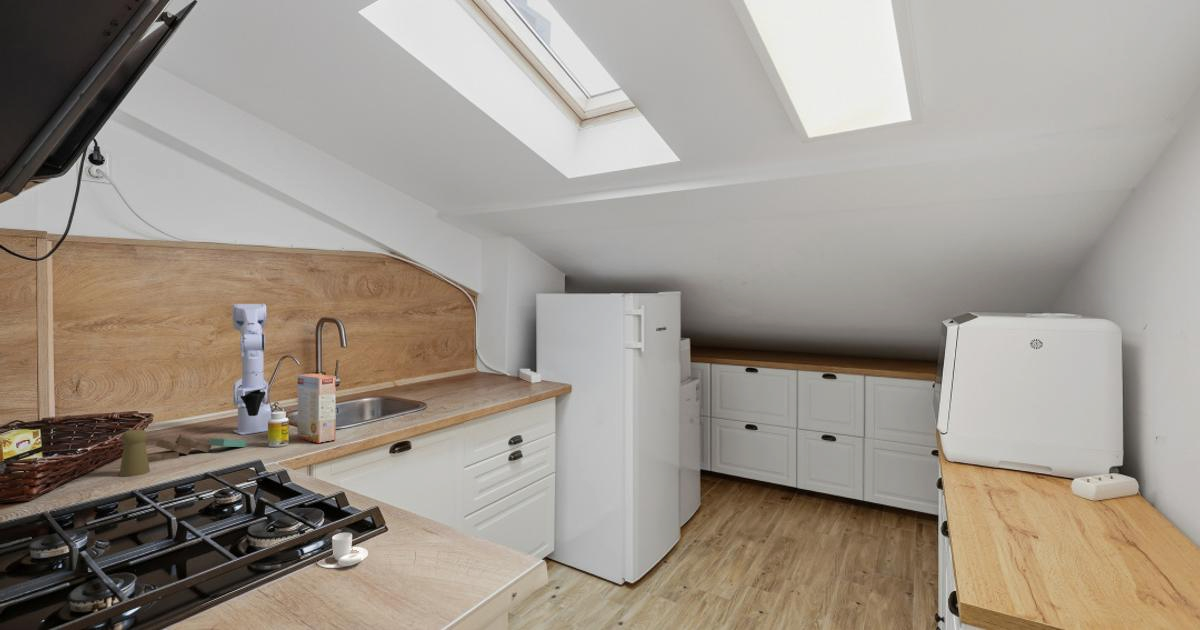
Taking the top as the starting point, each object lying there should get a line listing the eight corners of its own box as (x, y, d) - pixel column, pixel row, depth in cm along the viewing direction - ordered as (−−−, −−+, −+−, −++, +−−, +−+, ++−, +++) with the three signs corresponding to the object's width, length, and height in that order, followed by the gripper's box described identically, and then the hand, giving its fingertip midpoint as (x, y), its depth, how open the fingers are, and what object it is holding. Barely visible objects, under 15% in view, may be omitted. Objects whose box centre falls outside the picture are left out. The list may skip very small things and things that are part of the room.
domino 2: (191, 445, 163) (160, 436, 159) (191, 447, 159) (159, 439, 155) (187, 451, 162) (156, 443, 158) (187, 454, 158) (155, 445, 154)
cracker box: (336, 440, 176) (336, 375, 176) (317, 444, 172) (317, 377, 171) (315, 434, 185) (315, 372, 184) (296, 438, 180) (296, 374, 180)
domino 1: (176, 449, 160) (140, 454, 154) (178, 452, 156) (142, 458, 150) (176, 456, 160) (140, 461, 154) (178, 459, 156) (142, 465, 150)
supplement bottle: (282, 447, 168) (282, 414, 167) (264, 447, 167) (263, 414, 167) (292, 443, 173) (292, 410, 173) (274, 443, 173) (274, 410, 173)
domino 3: (209, 442, 166) (180, 433, 161) (211, 446, 162) (181, 436, 157) (206, 449, 165) (176, 440, 161) (207, 452, 161) (177, 443, 157)
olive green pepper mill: (155, 470, 143) (155, 428, 143) (129, 477, 138) (129, 433, 138) (140, 468, 145) (139, 427, 145) (113, 475, 140) (113, 432, 140)
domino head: (234, 439, 170) (210, 438, 162) (247, 440, 169) (224, 439, 161) (232, 445, 169) (209, 445, 162) (245, 446, 168) (223, 446, 161)
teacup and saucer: (364, 569, 91) (364, 545, 91) (310, 575, 89) (310, 550, 89) (370, 547, 99) (370, 524, 99) (322, 552, 97) (322, 529, 97)
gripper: (252, 369, 179) (252, 411, 179) (225, 375, 164) (225, 420, 165) (274, 369, 179) (275, 411, 180) (250, 375, 165) (250, 420, 165)
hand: (253, 415), depth 172 cm, fingers closed
